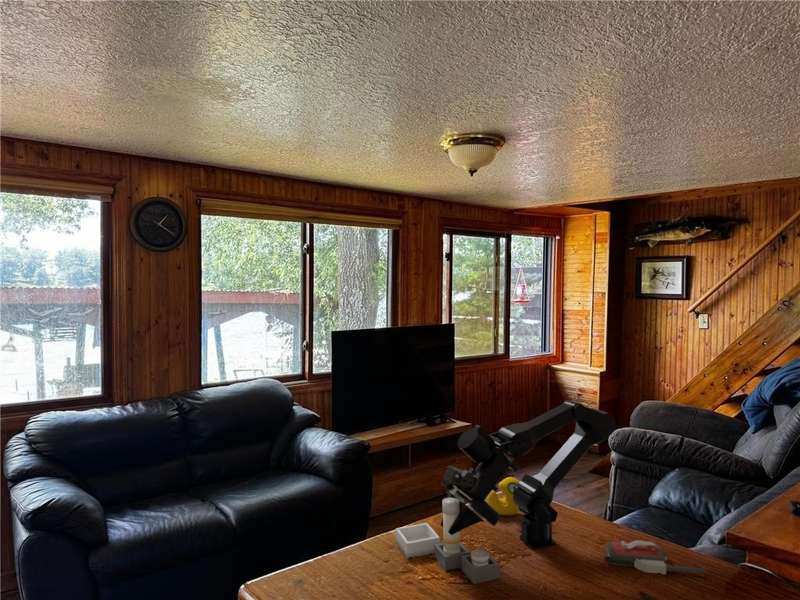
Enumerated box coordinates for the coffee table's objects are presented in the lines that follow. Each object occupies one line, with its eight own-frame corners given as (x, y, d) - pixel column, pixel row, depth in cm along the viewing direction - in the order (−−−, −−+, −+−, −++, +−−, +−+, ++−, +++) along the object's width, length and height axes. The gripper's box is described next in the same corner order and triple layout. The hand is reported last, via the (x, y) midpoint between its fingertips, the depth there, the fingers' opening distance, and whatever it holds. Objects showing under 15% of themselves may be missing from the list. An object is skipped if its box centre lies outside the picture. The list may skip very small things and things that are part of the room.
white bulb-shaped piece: (456, 551, 128) (455, 496, 127) (463, 559, 124) (462, 503, 124) (441, 554, 127) (439, 499, 126) (447, 562, 123) (446, 505, 123)
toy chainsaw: (606, 571, 121) (707, 580, 116) (606, 551, 120) (707, 559, 116) (600, 551, 129) (694, 559, 125) (600, 533, 129) (694, 539, 125)
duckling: (527, 509, 152) (527, 473, 151) (531, 518, 146) (531, 481, 146) (486, 510, 152) (485, 474, 152) (488, 518, 147) (488, 481, 146)
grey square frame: (458, 552, 129) (458, 539, 129) (470, 565, 124) (470, 552, 124) (434, 557, 127) (434, 544, 127) (445, 570, 122) (444, 557, 122)
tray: (427, 536, 138) (426, 522, 138) (440, 551, 130) (439, 537, 130) (396, 542, 135) (395, 528, 135) (407, 558, 127) (406, 543, 127)
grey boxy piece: (486, 564, 124) (485, 551, 124) (499, 578, 118) (499, 564, 118) (461, 569, 122) (461, 556, 122) (473, 583, 116) (473, 570, 116)
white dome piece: (483, 567, 122) (483, 548, 122) (492, 576, 119) (491, 556, 119) (468, 571, 121) (467, 551, 121) (476, 580, 118) (475, 559, 117)
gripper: (447, 442, 135) (406, 494, 131) (486, 466, 117) (440, 527, 114) (476, 469, 138) (437, 520, 134) (518, 496, 120) (474, 556, 117)
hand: (445, 529), depth 125 cm, fingers closed on white bulb-shaped piece, 4 cm apart
